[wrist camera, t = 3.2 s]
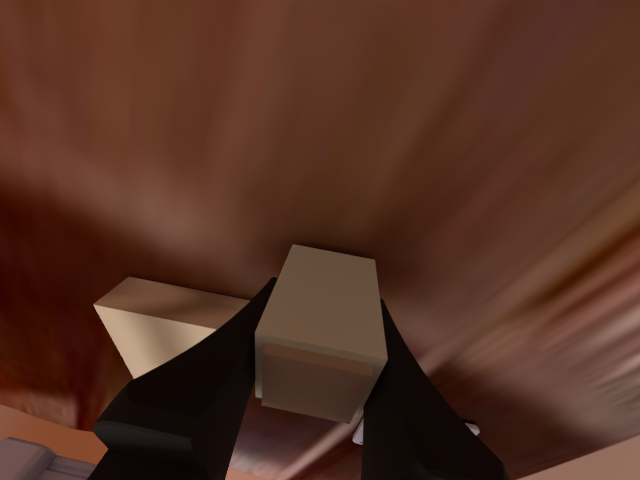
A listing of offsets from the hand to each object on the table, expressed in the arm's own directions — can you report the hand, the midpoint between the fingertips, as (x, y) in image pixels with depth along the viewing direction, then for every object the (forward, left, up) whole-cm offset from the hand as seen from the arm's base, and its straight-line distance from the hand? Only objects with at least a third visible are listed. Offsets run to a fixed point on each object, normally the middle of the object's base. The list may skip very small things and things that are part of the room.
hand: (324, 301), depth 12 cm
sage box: (0, 0, -2) cm, 2 cm away
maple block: (+9, +8, -2) cm, 12 cm away
